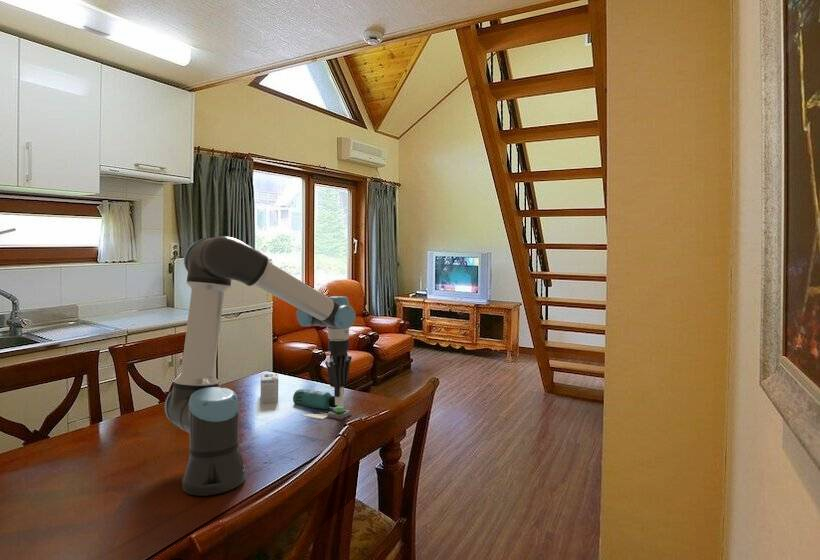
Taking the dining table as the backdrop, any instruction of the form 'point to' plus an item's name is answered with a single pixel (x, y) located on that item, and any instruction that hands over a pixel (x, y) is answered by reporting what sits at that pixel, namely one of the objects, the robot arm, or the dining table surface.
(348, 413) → the button box
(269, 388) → the light bulb box
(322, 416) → the cream rectangular board
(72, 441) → the dining table surface
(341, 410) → the button
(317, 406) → the beverage bottle
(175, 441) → the dining table surface
